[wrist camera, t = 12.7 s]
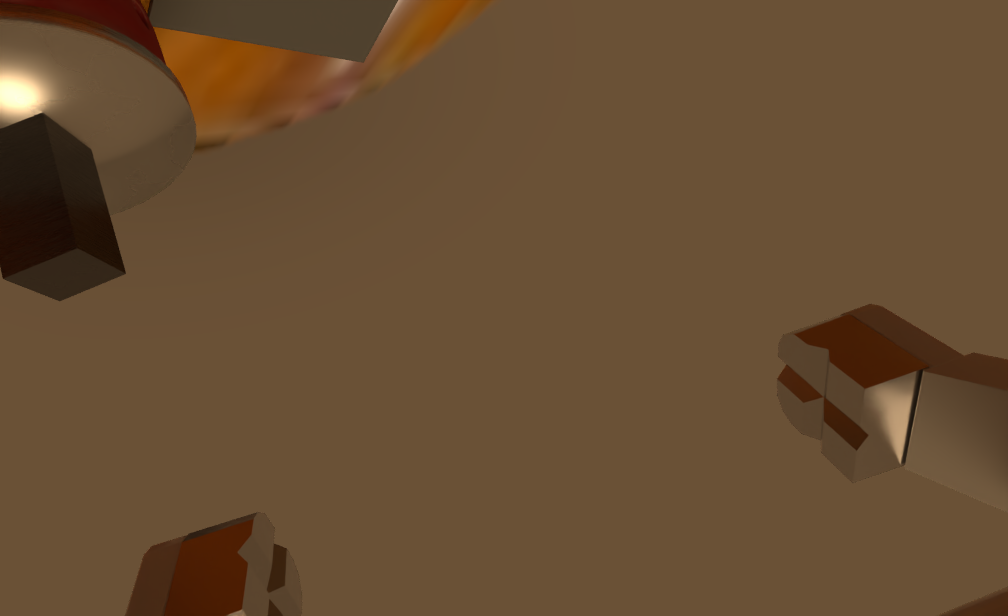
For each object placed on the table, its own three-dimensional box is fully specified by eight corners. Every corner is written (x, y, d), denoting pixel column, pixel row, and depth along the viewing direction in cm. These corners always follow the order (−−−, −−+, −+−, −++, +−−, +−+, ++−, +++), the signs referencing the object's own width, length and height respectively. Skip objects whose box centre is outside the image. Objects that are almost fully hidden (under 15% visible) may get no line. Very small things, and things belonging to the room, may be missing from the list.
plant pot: (-305, -218, 24) (-287, 13, 21) (86, -197, 29) (149, -11, 26) (-110, 44, 35) (-79, 220, 32) (146, 24, 41) (195, 173, 37)
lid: (-309, 89, 22) (-297, 291, 20) (65, -51, 23) (118, 126, 21) (7, 238, 36) (36, 370, 33) (236, 146, 37) (280, 267, 34)
